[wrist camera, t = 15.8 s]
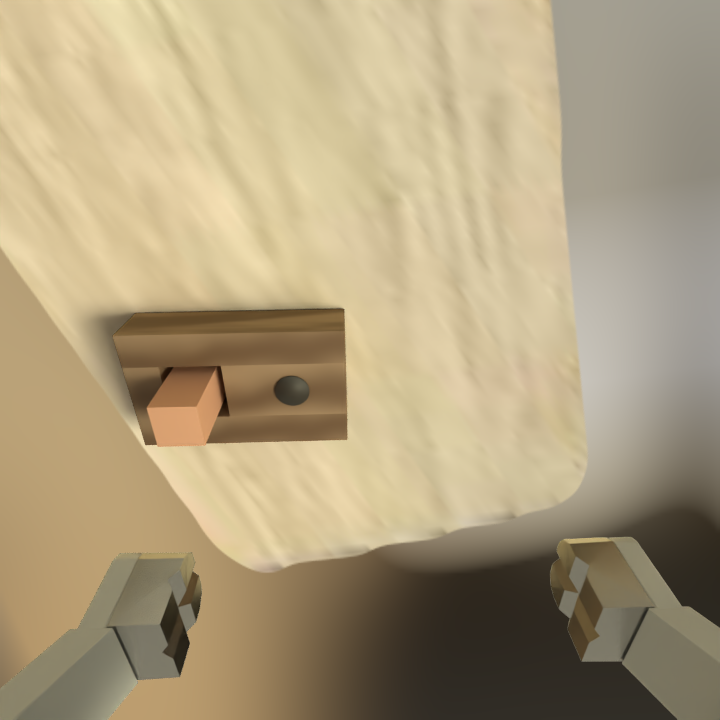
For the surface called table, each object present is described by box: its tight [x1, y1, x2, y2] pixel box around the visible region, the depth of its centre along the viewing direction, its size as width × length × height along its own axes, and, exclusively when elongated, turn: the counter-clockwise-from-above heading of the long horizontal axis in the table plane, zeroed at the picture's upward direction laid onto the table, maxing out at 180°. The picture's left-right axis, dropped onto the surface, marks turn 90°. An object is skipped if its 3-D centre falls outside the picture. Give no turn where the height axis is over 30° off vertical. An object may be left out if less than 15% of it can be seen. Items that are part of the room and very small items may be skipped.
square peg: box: [147, 366, 226, 447], centre depth 42 cm, size 4×4×10 cm
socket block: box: [112, 309, 347, 445], centre depth 44 cm, size 12×20×5 cm, turn 91°
